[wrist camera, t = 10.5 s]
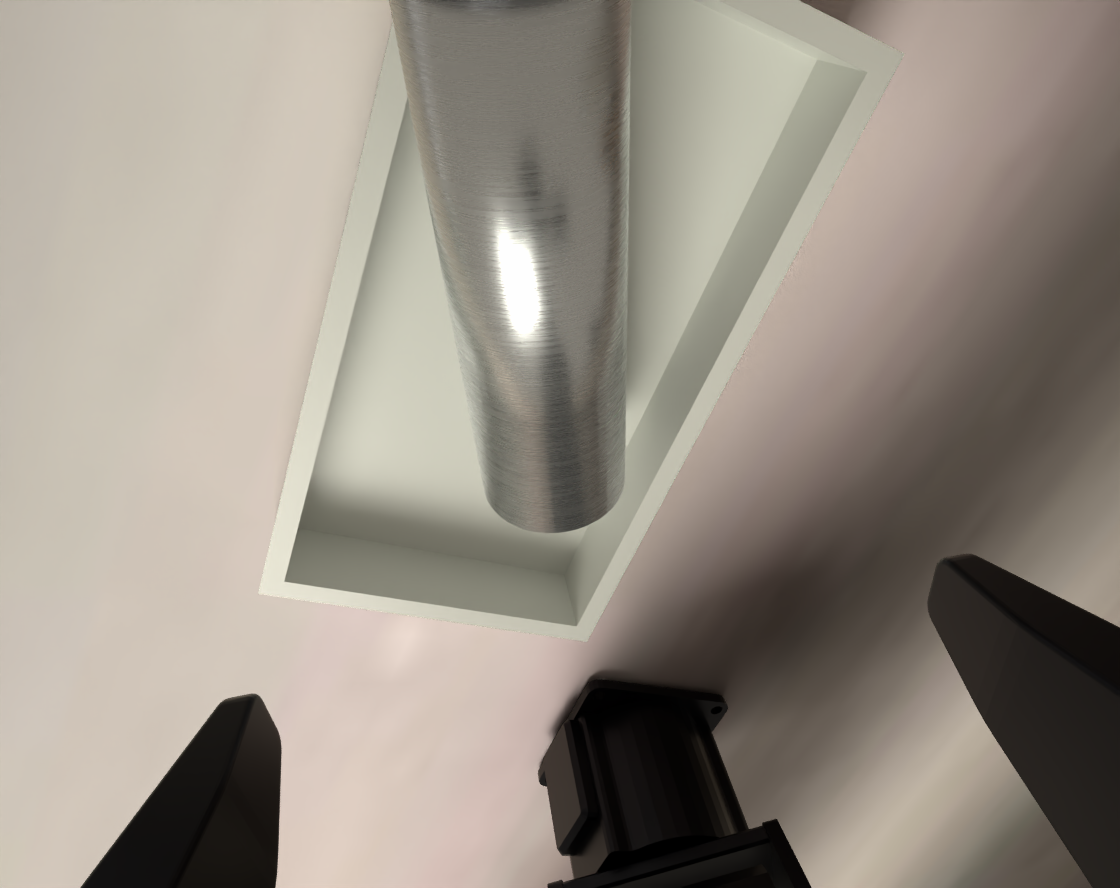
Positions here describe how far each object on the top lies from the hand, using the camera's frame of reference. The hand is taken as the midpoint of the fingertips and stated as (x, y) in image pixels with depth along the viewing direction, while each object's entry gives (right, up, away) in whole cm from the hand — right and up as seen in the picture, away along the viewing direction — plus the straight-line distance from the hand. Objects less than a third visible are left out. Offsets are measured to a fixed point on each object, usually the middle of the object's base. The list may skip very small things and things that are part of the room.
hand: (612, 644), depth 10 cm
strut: (-1, +2, +11) cm, 11 cm away
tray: (-2, +6, +11) cm, 13 cm away
